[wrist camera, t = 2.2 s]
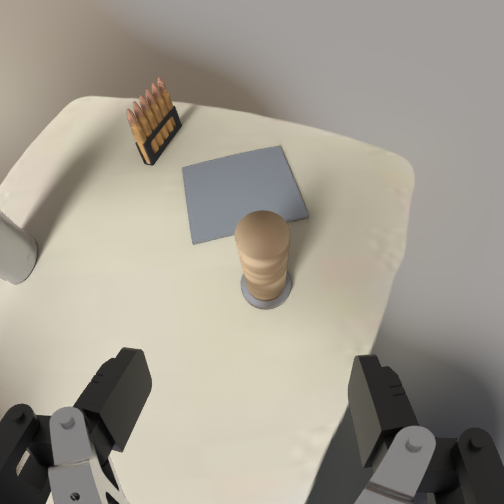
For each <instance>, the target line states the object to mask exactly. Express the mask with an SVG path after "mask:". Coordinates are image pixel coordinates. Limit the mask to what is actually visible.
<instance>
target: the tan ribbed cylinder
mask: <svg viewBox="0 0 504 504" xmlns="http://www.w3.org/2000/svg"><path fill="white" fill-rule="evenodd" d="M235 241H236V245H237V249H238V253H239V257H240V261H241V265H242V269H243V276H242V279H241V289H242V292H243V295H244V297H245V299H246V300H247V301H248V303H250V304H251V305H252V306H254V307H256V308H259V309H273V308H276V307H278V306H280V305H281V304H282V303H283V302H284V301H285V300H286V299H287V297H288V295H289V293H290V289H291V279H290V275H289V273H288V271H287V262H288V252H289V241H290V229H289V226H288V224H287V222H286V221H285V220H284V219H283V218H282V217H281V216H280V215H278V214H276V213H274V212H271V211H266V210H260V211H255V212H251V213H249V214H247V215H246V216H244V217H243V218H242V219H241V220H240V221H239V223H238V224H237V226H236V229H235Z"/></svg>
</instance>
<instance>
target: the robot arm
mask: <svg viewBox="0 0 504 504" xmlns="http://www.w3.org/2000/svg"><path fill="white" fill-rule="evenodd" d="M36 258H37V244H36V242H35V240H34V239H33V238H31V237H30V236H29V235H28V234H27V233H26V232H24V231H23V230H22V229H21V228H20V227H19V226H17V225H16V224H15V223H14V222H13V221H12V220H11V219H10V218H8V217H7V216H6V215H5V214H4V213H3V212H2V211H1V210H0V278H2V279H3V280H7V281H9V282H10V283H12V284H18V283H21V282H22V281H24V280H25V279H26V278H27V277H28V275H29V274H30V273H31V271H32V269H33V267H34V265H35V262H36ZM151 388H152V379H151V375H150V372H149V369H148V365H147V362H146V359H145V355H144V352H143V351H142V350H141V349H133V348H126V347H124V348H122V349H121V350H120V352H119V353H118V355H117V356H116V358H111V359H109V360H108V361H107V362H105V363H104V364H102V366H101V367H100V368H99V370H98V371H97V373H96V375H94V377H93V378H92V380H91V382H89V384H88V385H87V387H86V388H85V390H84V391H83V393H82V394H81V395H80V397H79V398H78V400H77V401H76V403H75V404H74V406H73V407H64V408H61V409H59V410H57V411H56V412H54V414H53V415H52V416H43V415H35V413H34V411H33V410H32V408H31V407H30V406H28V405H26V404H17V405H15V406H13V407H11V408H10V409H9V410H8V411H7V413H6V414H5V416H4V417H3V418H2V420H1V421H0V504H46V501H47V499H48V497H49V495H50V492H52V497H53V501H54V504H130V503H129V502H128V500H127V499H126V497H125V495H124V493H123V490H122V488H121V485H120V483H119V480H118V477H117V475H116V472H115V469H114V466H113V463H112V460H111V458H110V456H109V454H110V452H111V450H115V451H118V452H123V450H124V448H125V446H126V443H127V441H128V439H129V437H130V435H131V432H132V430H133V428H134V426H135V424H136V422H137V420H138V417H139V415H140V413H141V411H142V409H143V407H144V405H145V403H146V400H147V398H148V396H149V394H150V392H151ZM348 400H349V405H350V409H351V413H352V418H353V422H354V427H355V432H356V437H357V442H358V446H359V451H360V456H361V462H362V466H363V468H368V467H373V472H374V475H373V476H372V478H371V480H370V481H369V483H368V484H367V486H366V487H365V489H364V490H363V492H362V493H361V495H360V496H359V497H358V499H357V500H356V502H355V503H354V504H414V500H413V497H414V495H415V493H427V498H428V502H429V504H504V466H503V464H502V461H501V459H500V456H499V454H498V451H497V449H496V447H495V444H494V442H493V440H492V438H491V436H490V435H489V433H487V432H486V431H485V430H483V429H480V428H470V429H467V430H466V431H464V432H463V433H462V434H461V435H460V437H459V438H437V437H434V436H433V434H432V433H431V432H430V431H429V430H427V429H426V428H423V427H420V426H419V424H418V422H417V419H416V416H415V415H414V411H413V409H412V407H411V405H410V402H409V400H408V397H407V395H406V394H405V390H404V388H403V387H402V383H401V381H400V379H399V377H398V375H397V374H396V373H395V372H394V371H393V370H392V369H391V368H390V367H389V366H387V367H381V365H380V363H379V360H378V358H377V356H376V355H375V354H372V355H359V356H355V358H354V362H353V367H352V371H351V376H350V380H349V385H348ZM26 450H27V451H28V452H29V453H30V456H29V457H28V459H27V461H26V463H25V465H24V466H23V468H22V470H21V472H20V474H19V476H17V474H16V467H17V465H18V463H19V461H20V460H21V458H22V456H23V454H24V453H25V451H26Z"/></svg>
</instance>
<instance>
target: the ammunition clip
mask: <svg viewBox="0 0 504 504" xmlns="http://www.w3.org/2000/svg"><path fill="white" fill-rule="evenodd" d="M158 87H159V89H158ZM158 87H157V86H156V84H155V83H152V92H153V95H152V93H151V92H150V91H149V90H148V89H146V98H147V101H146V100H145V98H144V97H143V96H142V95H140V105H141V108H142V110H141V108H140V106H139V105H138V104H137V103H136V102H133V108H134V112H135V115H136V117H135V116H134V114H133V113H132V111H131V110H130V109H127V117H128V121H129V123H130V126H131V129H132V133H133V135H134V137H135V139H136V141H137V142H136V146H137V148H138V150H139V152H140V155H141V157H142V159H143V162H144V164H147V165H154V164H155V162H156V161H157V159H158V158H159V156H160V155H161V154H162V152H163V151H164V149H165V148H166V147H167V145H168V144H169V142H170V141H171V140H172V138H173V137H174V136H175V134H176V133H177V132H178V130H179V129H180V128H181V126H182V125H181V122H180V119H179V116H178V113H177V111H176V108H175V106H173V104H172V101H171V98H170V95H169V93H168V92H167V89H166V86H165V84H164V82H163V80H162V79H161V78H160V77H158ZM153 96H154V97H153ZM147 102H148V103H147ZM142 111H143V112H142ZM136 118H137V120H136Z"/></svg>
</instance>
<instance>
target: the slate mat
mask: <svg viewBox="0 0 504 504" xmlns="http://www.w3.org/2000/svg"><path fill="white" fill-rule="evenodd" d="M182 171H183V179H184V187H185V195H186V203H187V210H188V217H189V224H190V231H191V238H192V243H193V245H195V244H199V243H203V242H207V241H211V240H215V239H219V238H223V237H227V236H231V235H235V229H236V226H237V224H238V223H239V221H240V220H241V219H242V218H243V217H244V216H246V215H247V214H249V213H251V212H255V211H260V210H266V211H271V212H274V213H276V214H278V215H280V216H281V217H282V218H283V219H284V220H285V221H286V222H291V221H295V220H300V219H304V218H308V213H307V210H306V208H305V205H304V202H303V200H302V198H301V195H300V193H299V190H298V188H297V185H296V183H295V180H294V178H293V176H292V173H291V171H290V169H289V166H288V164H287V162H286V159H285V157H284V155H283V152H282V150H281V148H280V146H275V147H270V148H265V149H260V150H255V151H250V152H245V153H241V154H236V155H232V156H227V157H223V158H219V159H214V160H210V161H206V162H202V163H198V164H194V165H190V166H187V167H183V168H182Z"/></svg>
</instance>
